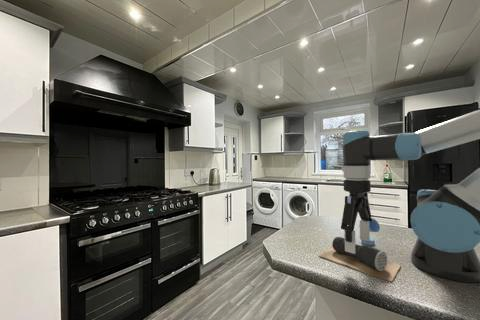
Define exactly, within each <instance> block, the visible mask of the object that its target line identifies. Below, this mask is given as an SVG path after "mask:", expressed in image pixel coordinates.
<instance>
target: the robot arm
mask: <svg viewBox="0 0 480 320" xmlns="http://www.w3.org/2000/svg"><path fill="white" fill-rule="evenodd" d="M476 140H480V109H478V110H473V111H471V112H469V113H465V114H463V115H461V116H457V117H455V118H452V119H449V120H447V121H442V122H440V123H437V124H434V125H432V126H429V127H426V128H423V129H420V130H418V131H415V132H401V133H394V134H384V135H383V134H382V135H376V136H375V135H370V132H369V130H366V129H360V130H351V131H350V130H349V131H346V132H345V133H343V135H342V145H341V146H342V161H343V164H342V166H343V167H342V169H341V171H342V173H343V178H344V180H343V191H344V192H348V193H349V196H347V195H345V196H344V206H343V212H342V218H341V225H340V230H344V238H345V251H346V252H350V253H353V254H355V253H356V247H355V244H356V230H354V229H355V226H356V222H357V217H358V215H359V217H360V219H359V225H360V227H359V240H360V241H361V240H365V241H370V238H371V235H370V234H371V233H370V232H369V221H372V219H373V218H372V213H371V208H370V202H369V196H368V195H369V193H370V192H371V190H372V189H371V188H372V187H371V181H370V179H371V161H374V162H375V161H400V162H404V161H405V162H406V161H412V160H414V161H415V160H419V159H420V158H421V157H422V156H424V155H427V154H430V153H434V152H438V151H441V150H445V149H449V148H453V147H456V146H460V145H463V144H466V143H469V142H474V141H476ZM416 202H417V203H416V204H417V205H416V207H415V208H414V209H413V210H412V212H411V213H410V224H411V229H412V231H413V233H414V234H415V235H416V237H417V239H416V241H415V244H414V246H413V248H412V250H411V253H410V262H412V264H413V265H414V266H415V267H417V268H419V269H421V270H423V271H425V272H427V273H428V274H431V275H435V276H438V277H439V278H440V277H441V278H444V279H447V280H450V281H455V282H456V281H457V282H461V283H470V284H471V283H473V284H476V283H480V259H479V256H478V255H477V254H478V253H477V252H476V250H475V247H477V246H478V245H479V244H480V167H478V168H477V169H475V170H474V171H473V172H472V173H470V174H469V175H468V176H466V177H465V178H464V179H463V180H461V181H459V183H456V184H444V185H443V186H441V187H440V188H439V189H437V190H436V189H419V190H418V191H417V193H416Z"/></svg>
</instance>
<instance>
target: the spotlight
mask: <svg viewBox="0 0 480 320" xmlns="http://www.w3.org/2000/svg"><path fill="white" fill-rule="evenodd" d="M359 228H360V224H359ZM380 229H381V227H380V223H379V222H378V220H376V219H375V218H372V221H369V232H371V233H378V232H379V231H380ZM360 241H361V242H360V243H362V244H364V245H365V246H366V245H367V246H374V245H375V238H373V237H370V241H365V240H361V239H360Z"/></svg>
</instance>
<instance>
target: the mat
mask: <svg viewBox="0 0 480 320" xmlns="http://www.w3.org/2000/svg"><path fill="white" fill-rule="evenodd" d="M318 257H319V258H321V259H324V260H327V261H330V262H333V263H336V264H338V265H341V266H344V267H347V268H350V269H352V270H355V271H358V272H360V273H361V272H362V273H365V274H367V275H369V276H373V277H375V278H378V279H381V280H384V281H386V282H390V283H393V281H394V280H395V278H396V276H397V274H398V273H399V270H400V269H401V268H402V265H401V264H398V263H394V262H392V261H388V260H387V266H386V268H385V269H384V270H383V271H379V270H376V269H374V268H372V267H369V266H368V265H367V264H365V263H362V262H360V261H359V260H358V259H356V258H354V257H352V256H348V255H346V254H341V253H339V252H337V251H335V250H334V249H333V246H331V247H329V248H328V249H327V250H325V251H324V252H322V253H320V254H319V255H318Z"/></svg>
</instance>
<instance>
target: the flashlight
mask: <svg viewBox="0 0 480 320" xmlns="http://www.w3.org/2000/svg"><path fill="white" fill-rule="evenodd" d="M331 244H332V246H331V247H333V249H334V250H335V251H337V252H339V253H341V254H346V255H348V256H352V257H354V258H356V259H358V260H359V261H360V262H362V263H365V264H367V265H368V266H369V267H372V268H374V269H376V270H379V271H383V270H384V269H385V268H386V266H387V261H388V255H387V253H386V252H385V251H383V250H380V249H377V248H373V247H369V246H366V245H360V244H358V243H355V247H356V253H355V254H353V253H350V252H346V251H345V237H342V236H336V237H334V238H333V240H332V243H331Z"/></svg>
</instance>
